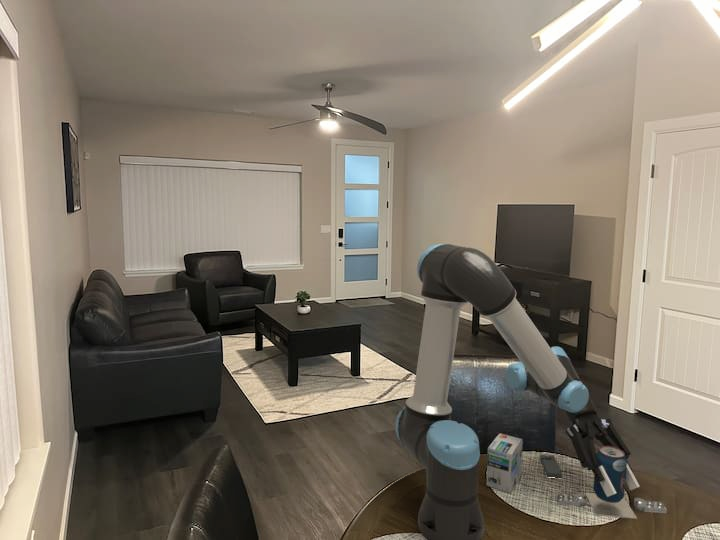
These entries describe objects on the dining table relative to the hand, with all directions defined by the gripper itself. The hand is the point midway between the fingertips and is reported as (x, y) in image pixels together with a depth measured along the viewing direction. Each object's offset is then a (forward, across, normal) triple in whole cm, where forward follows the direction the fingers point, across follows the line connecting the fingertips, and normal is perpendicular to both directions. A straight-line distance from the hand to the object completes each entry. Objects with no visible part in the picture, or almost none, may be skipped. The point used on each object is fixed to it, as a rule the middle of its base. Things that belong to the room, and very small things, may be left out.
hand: (623, 491), depth 122 cm
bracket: (-12, +1, -21) cm, 24 cm away
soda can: (0, 0, -6) cm, 6 cm away
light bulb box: (-12, +17, -20) cm, 29 cm away
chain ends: (+2, 0, -6) cm, 7 cm away
